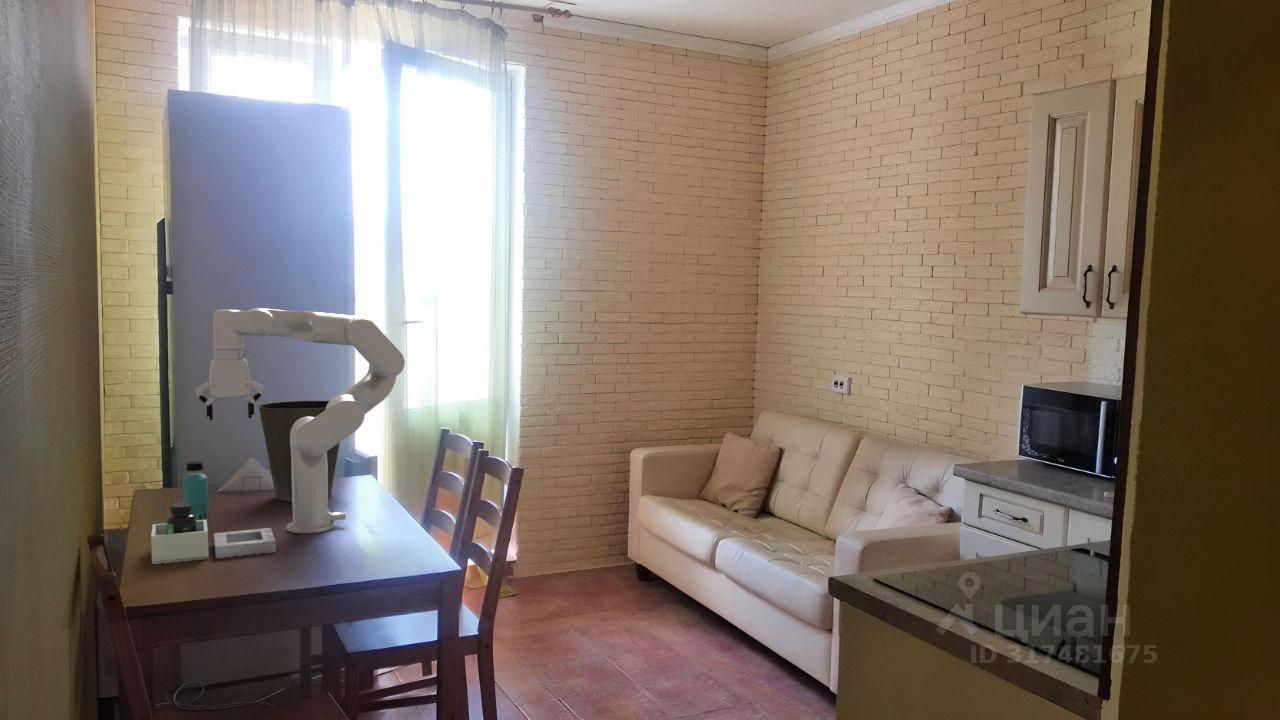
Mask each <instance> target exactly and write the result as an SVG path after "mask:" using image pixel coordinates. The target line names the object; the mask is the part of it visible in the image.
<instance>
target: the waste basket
mask: <svg viewBox="0 0 1280 720" xmlns="http://www.w3.org/2000/svg"><path fill="white" fill-rule="evenodd" d="M329 401H330V400H292V401H291V400H290V401H289V400H288V401H277V402H268V403H263V404H259V405H258V406H257V407H258V410H259V415H260V422H261V425H262V430H263V437H264V443H265V447H266V453H267V459H268V463H269V468H270V473H271V474H270V475H271V480H272V483H273V484H272V485H273V490H274V495H275V499H276V500H279V501H280V502H281V501H282V502H289V503H292V463H291V446H290V432H291V428H292V426H293V424H294V423H295V422H296V421H297V420H298V419H300V418H303V417H307V416H311V417H316V416H318V415H319V414H321V413H322V412H324V411H325V408H326V406H327V404H328V403H329ZM340 443H341V442H339V443H338V444H337V445H335V446H334V447H332V448H331V449H329V450H328V451H327V466H328V473H327V479H328V498H329V497H331V495H332V490H333V484H334V479H335V478H334V477H335V472H336V468H337V467H336V466H337V461H338V460H337V459H338V454H339V449H340Z"/></svg>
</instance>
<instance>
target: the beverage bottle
mask: <svg viewBox="0 0 1280 720" xmlns="http://www.w3.org/2000/svg"><path fill="white" fill-rule="evenodd" d="M203 465H204V464H203V462H202V461H197V460H196V461H190V462H187V463H186V469H185V470H186V471H187V472H193V473H187V474H186V475H185V476H184V477H183V478H182V489H183V493H182V494H183V495H182V497H183V503H190V504H191V507H192V512H191V513H192V514H193V515H195V517H196V521H197V520H207V529H208V530H209V528H210V525H211V524H210V507H209V492H210V491H209V485H208V484H209V482H208V476H207V475H206V474H205V473H202V472H198V471H203V470H204V466H203Z"/></svg>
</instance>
